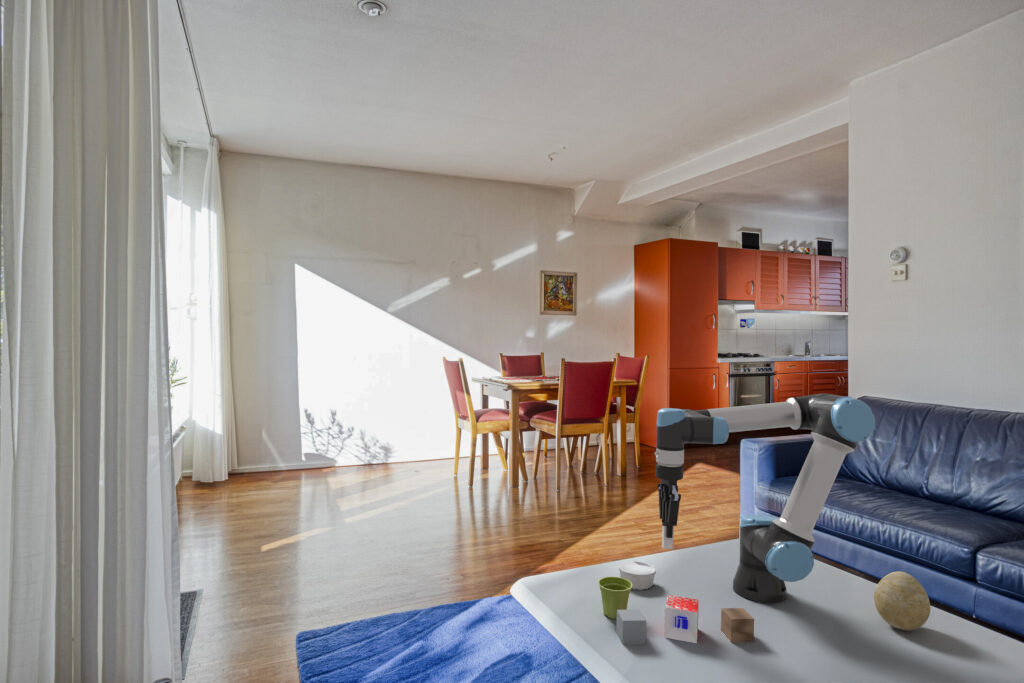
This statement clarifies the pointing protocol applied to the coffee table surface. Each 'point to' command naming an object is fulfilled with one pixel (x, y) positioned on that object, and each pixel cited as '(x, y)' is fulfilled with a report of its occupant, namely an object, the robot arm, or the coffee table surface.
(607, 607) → the plant pot
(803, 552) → the robot arm
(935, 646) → the coffee table surface
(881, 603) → the fossilized egg
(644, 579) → the ramekin
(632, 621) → the slate grey block
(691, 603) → the puzzle cube
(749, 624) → the walnut block
